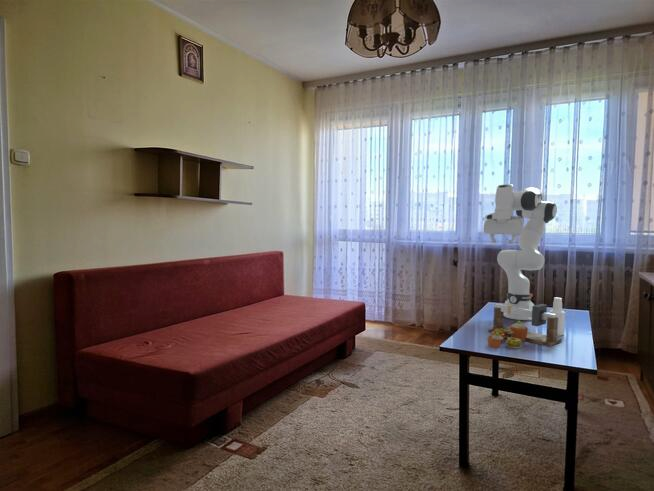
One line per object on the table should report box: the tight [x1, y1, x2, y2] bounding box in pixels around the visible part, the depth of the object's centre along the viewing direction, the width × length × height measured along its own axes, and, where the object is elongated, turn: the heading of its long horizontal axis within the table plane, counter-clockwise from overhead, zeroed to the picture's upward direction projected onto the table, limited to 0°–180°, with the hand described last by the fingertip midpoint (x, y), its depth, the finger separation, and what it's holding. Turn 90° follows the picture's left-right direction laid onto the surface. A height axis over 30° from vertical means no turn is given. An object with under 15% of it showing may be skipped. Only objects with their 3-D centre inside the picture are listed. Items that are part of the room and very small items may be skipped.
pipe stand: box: [487, 303, 563, 348], centre depth 202 cm, size 30×12×14 cm, turn 38°
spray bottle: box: [548, 296, 566, 336], centre depth 208 cm, size 7×7×18 cm
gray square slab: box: [531, 303, 548, 327], centre depth 196 cm, size 2×9×9 cm, turn 128°
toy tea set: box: [487, 320, 529, 349], centre depth 192 cm, size 26×16×10 cm, turn 148°
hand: (502, 243), depth 214 cm, fingers open, 8 cm apart
